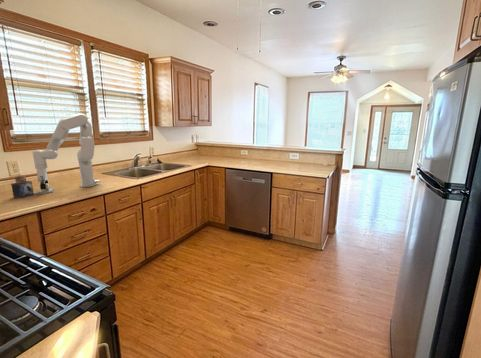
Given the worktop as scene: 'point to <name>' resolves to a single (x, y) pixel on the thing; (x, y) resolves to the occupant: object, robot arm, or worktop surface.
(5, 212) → the worktop surface
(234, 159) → the worktop surface
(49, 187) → the oak cube
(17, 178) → the walnut cube
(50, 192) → the grey square plate
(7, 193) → the worktop surface
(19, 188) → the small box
